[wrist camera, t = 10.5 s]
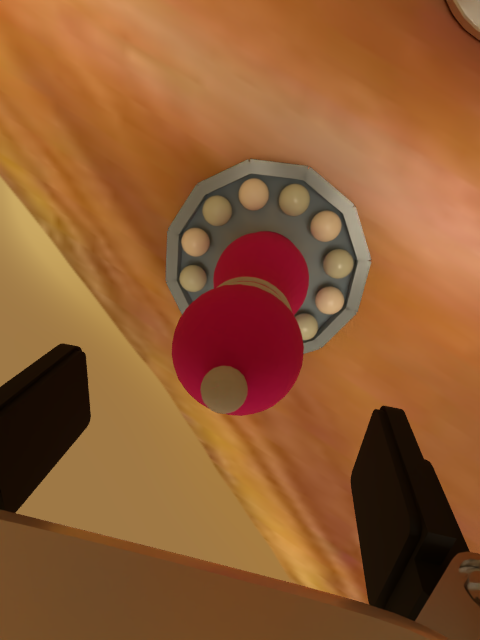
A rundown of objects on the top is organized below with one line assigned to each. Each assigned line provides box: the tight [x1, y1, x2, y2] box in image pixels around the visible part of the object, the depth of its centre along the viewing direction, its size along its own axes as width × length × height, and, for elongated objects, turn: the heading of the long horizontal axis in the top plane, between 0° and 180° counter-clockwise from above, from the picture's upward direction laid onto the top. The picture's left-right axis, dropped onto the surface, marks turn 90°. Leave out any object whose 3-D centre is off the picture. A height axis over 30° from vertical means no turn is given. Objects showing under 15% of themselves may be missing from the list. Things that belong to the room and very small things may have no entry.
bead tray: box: [166, 159, 371, 354], centre depth 30 cm, size 17×17×4 cm
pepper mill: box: [172, 231, 309, 416], centre depth 21 cm, size 7×7×20 cm
